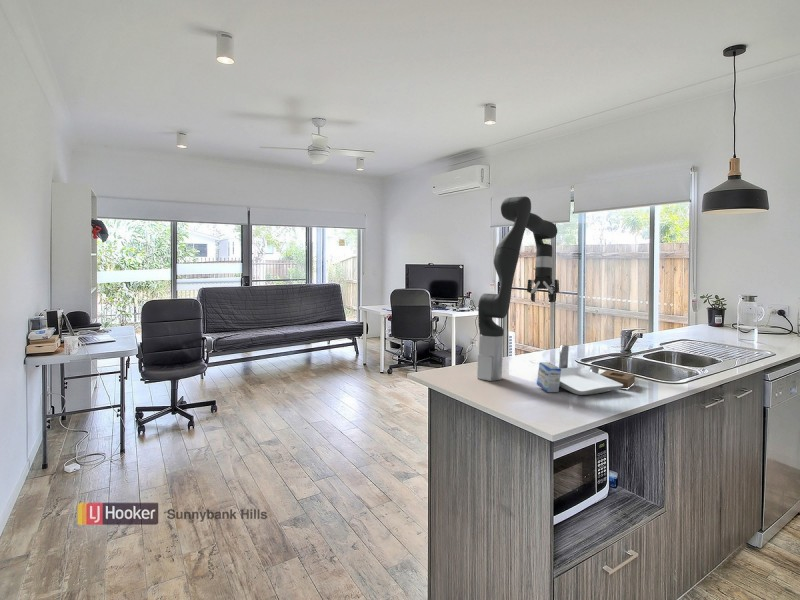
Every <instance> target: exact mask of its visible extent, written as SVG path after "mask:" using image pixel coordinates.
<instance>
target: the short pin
mask: <svg viewBox="0 0 800 600" xmlns="http://www.w3.org/2000/svg"><path fill="white" fill-rule="evenodd" d="M588 370H589V371H592V372H594V373H597V374H599V370H600V368H599V367H598V366H596V365H591V366H590V368H589V369H588Z"/></svg>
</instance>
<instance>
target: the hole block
mask: <svg viewBox="0 0 800 600" xmlns="http://www.w3.org/2000/svg"><path fill="white" fill-rule="evenodd" d="M598 374H599V373H598ZM599 375H602V376H604V377H607V378H609V379H611V380H614V381H616V382H619V383H621V384H623V386H622V387H621V388H628V387H630V386H631V385H632V384H633V383H634V382H635V379H636V374H634V373H627V372H622V371H614V370H608V369H607V370H605V371H603V372H601V373H600V374H599ZM634 384H635V383H634Z"/></svg>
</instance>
